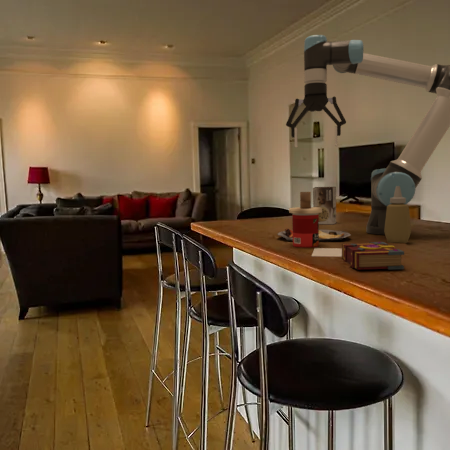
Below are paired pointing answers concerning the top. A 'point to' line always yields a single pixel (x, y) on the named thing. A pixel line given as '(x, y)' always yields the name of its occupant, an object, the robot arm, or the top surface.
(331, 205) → the coffee box
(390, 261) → the decorative book
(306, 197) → the lid
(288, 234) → the food plate
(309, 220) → the canned food
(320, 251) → the mat
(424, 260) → the top surface
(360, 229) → the top surface
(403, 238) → the squeeze bottle
